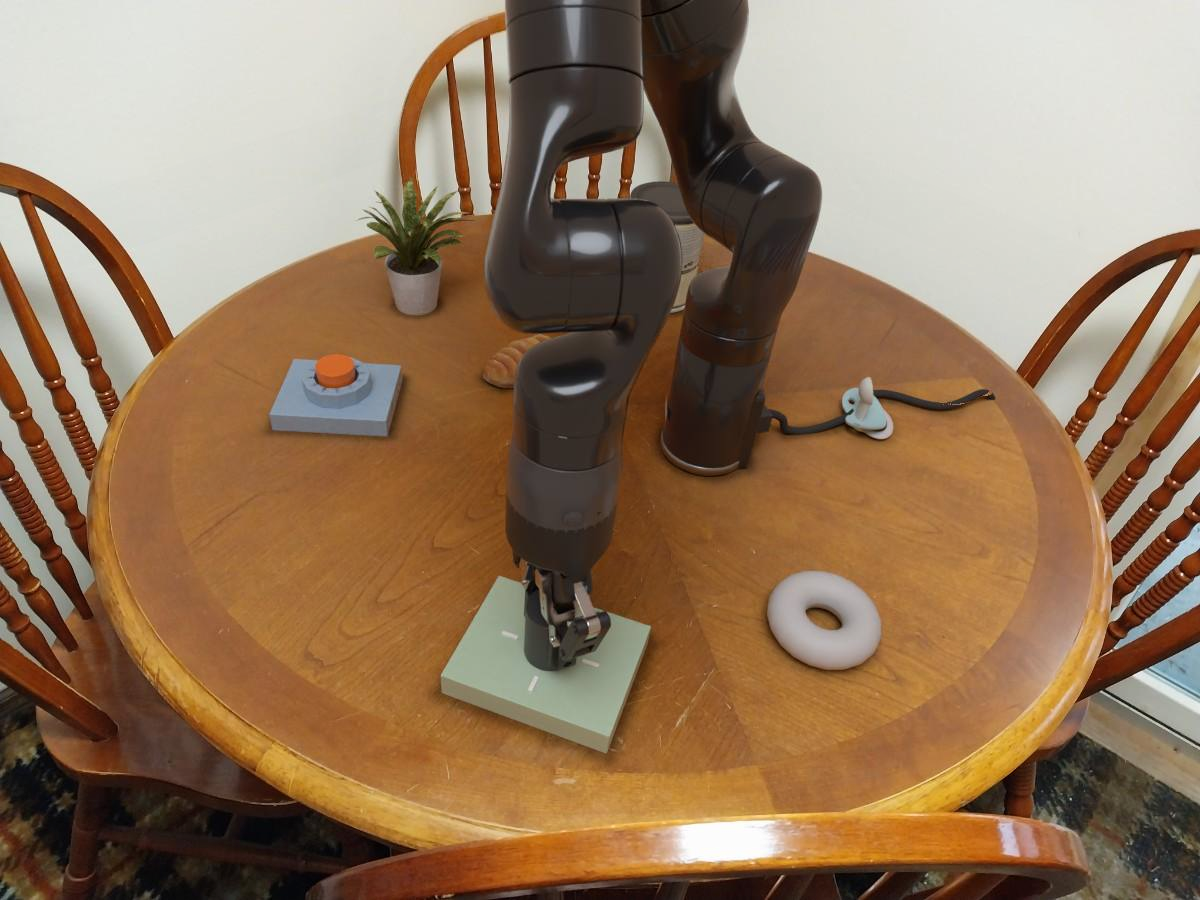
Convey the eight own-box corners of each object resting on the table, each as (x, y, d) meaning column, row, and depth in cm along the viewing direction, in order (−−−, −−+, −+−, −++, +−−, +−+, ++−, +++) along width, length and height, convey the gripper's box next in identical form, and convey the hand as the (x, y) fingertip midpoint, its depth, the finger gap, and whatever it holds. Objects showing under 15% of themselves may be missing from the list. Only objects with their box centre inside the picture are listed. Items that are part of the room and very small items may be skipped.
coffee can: (610, 303, 114) (620, 205, 105) (631, 269, 122) (643, 174, 112) (683, 321, 112) (701, 223, 103) (701, 285, 120) (718, 190, 110)
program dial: (525, 627, 70) (527, 582, 66) (575, 629, 70) (580, 584, 66) (522, 670, 67) (524, 625, 63) (575, 672, 67) (580, 627, 63)
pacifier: (885, 408, 102) (836, 401, 102) (903, 366, 98) (852, 358, 98) (896, 447, 96) (844, 440, 96) (916, 405, 92) (862, 397, 92)
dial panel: (647, 643, 73) (651, 624, 71) (606, 754, 65) (609, 735, 63) (498, 593, 76) (498, 574, 74) (441, 693, 68) (440, 674, 66)
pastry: (502, 401, 96) (502, 374, 94) (470, 372, 100) (470, 345, 98) (568, 375, 101) (570, 348, 99) (535, 348, 105) (536, 321, 102)
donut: (839, 700, 70) (895, 629, 76) (851, 677, 68) (907, 606, 74) (741, 630, 75) (800, 568, 81) (748, 606, 73) (809, 544, 79)
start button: (359, 368, 93) (357, 355, 92) (351, 390, 90) (349, 377, 89) (322, 366, 92) (319, 352, 91) (313, 388, 89) (310, 374, 88)
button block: (402, 380, 98) (400, 352, 95) (387, 436, 90) (384, 407, 87) (296, 374, 97) (291, 345, 94) (272, 430, 89) (265, 400, 87)
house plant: (420, 354, 102) (412, 229, 91) (333, 316, 106) (315, 192, 95) (490, 304, 111) (490, 186, 101) (407, 271, 116) (399, 154, 105)
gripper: (662, 546, 53) (630, 697, 64) (571, 410, 63) (557, 563, 74) (552, 578, 50) (539, 731, 62) (474, 432, 60) (475, 587, 71)
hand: (549, 639), depth 68 cm, fingers closed on program dial, 4 cm apart
